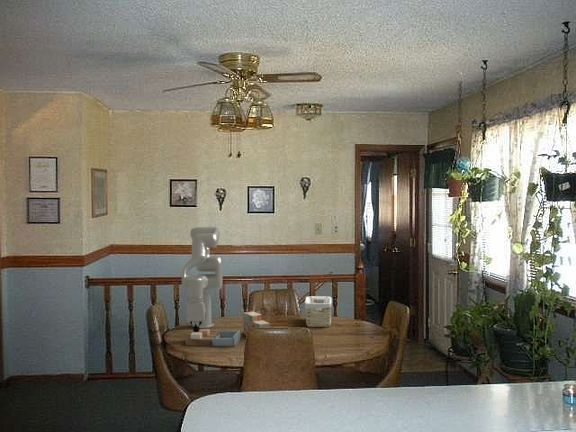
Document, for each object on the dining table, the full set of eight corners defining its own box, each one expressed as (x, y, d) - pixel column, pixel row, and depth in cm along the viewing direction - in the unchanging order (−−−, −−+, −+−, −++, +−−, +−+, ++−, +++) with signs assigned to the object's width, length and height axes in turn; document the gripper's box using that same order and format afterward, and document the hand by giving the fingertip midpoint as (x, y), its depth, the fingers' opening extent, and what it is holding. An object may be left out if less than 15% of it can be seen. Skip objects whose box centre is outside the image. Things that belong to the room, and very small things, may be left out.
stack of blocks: (270, 339, 326) (269, 317, 325) (259, 341, 323) (259, 318, 322) (253, 332, 344) (252, 310, 344) (243, 333, 341) (242, 312, 341)
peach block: (201, 333, 329) (201, 328, 329) (209, 333, 328) (209, 329, 328) (198, 335, 324) (198, 331, 324) (207, 335, 324) (207, 331, 323)
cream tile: (193, 336, 322) (193, 332, 321) (202, 336, 321) (202, 332, 321) (190, 339, 317) (190, 334, 316) (199, 339, 316) (199, 334, 316)
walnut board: (193, 337, 331) (193, 332, 331) (218, 338, 330) (218, 333, 330) (185, 345, 315) (185, 339, 315) (211, 345, 314) (211, 340, 314)
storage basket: (331, 327, 354) (331, 302, 353) (304, 327, 355) (304, 302, 354) (331, 319, 377) (331, 295, 377) (306, 318, 379) (305, 295, 378)
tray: (219, 337, 331) (219, 329, 330) (241, 338, 329) (240, 329, 329) (211, 346, 313) (211, 336, 313) (234, 346, 311) (234, 337, 311)
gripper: (180, 301, 323) (181, 334, 324) (207, 301, 321) (208, 335, 322) (184, 298, 331) (185, 331, 331) (211, 299, 329) (211, 331, 330)
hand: (196, 333), depth 327 cm, fingers closed
